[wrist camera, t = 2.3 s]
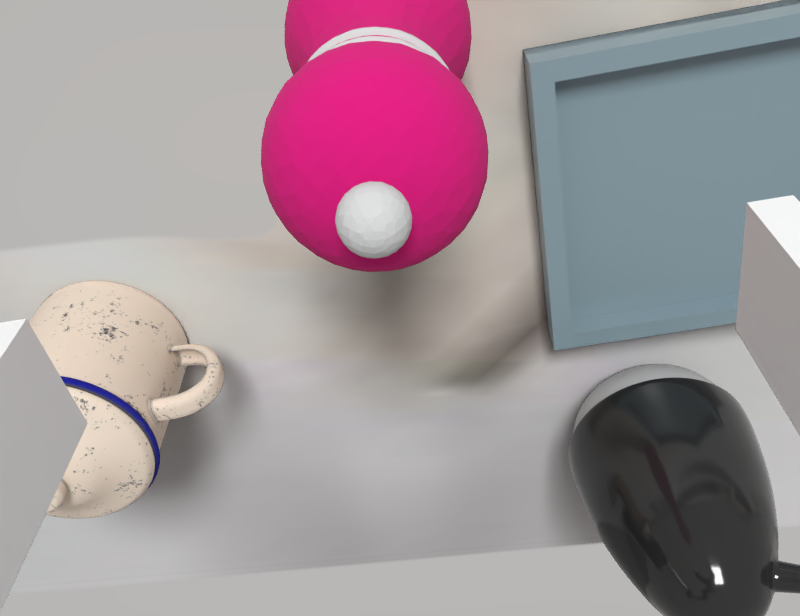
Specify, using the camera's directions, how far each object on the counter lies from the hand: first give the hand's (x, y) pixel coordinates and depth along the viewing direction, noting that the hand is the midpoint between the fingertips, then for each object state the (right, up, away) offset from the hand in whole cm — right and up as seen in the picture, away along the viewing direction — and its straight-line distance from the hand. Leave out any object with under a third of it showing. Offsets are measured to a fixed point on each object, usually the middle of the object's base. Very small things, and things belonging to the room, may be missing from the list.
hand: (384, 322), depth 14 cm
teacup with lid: (-15, -1, +29) cm, 33 cm away
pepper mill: (-1, +13, +19) cm, 23 cm away
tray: (+15, +7, +24) cm, 29 cm away
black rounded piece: (+15, -5, +33) cm, 37 cm away
